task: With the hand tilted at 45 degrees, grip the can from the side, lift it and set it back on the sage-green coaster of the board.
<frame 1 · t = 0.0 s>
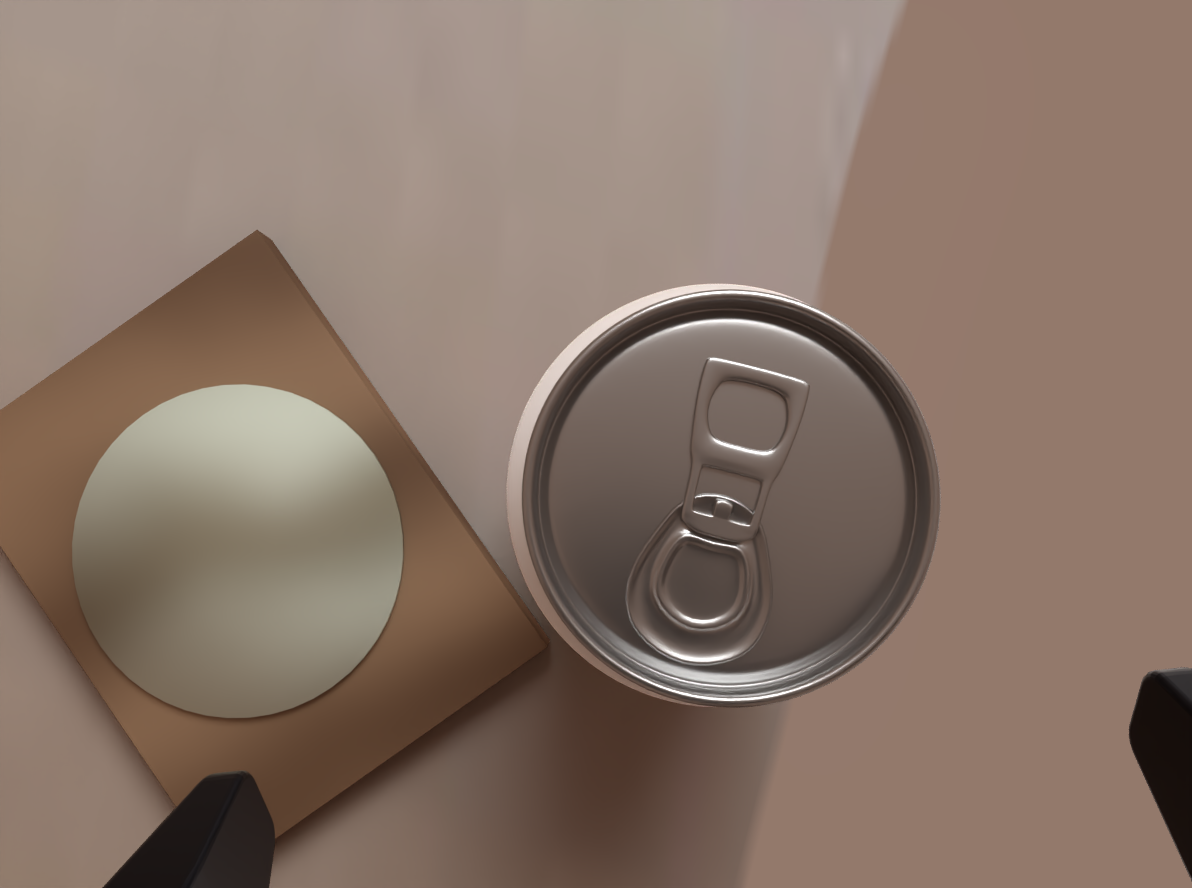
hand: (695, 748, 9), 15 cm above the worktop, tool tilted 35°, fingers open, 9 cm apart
can: (671, 483, 24), on the worktop
coaster board: (255, 546, 24), on the worktop
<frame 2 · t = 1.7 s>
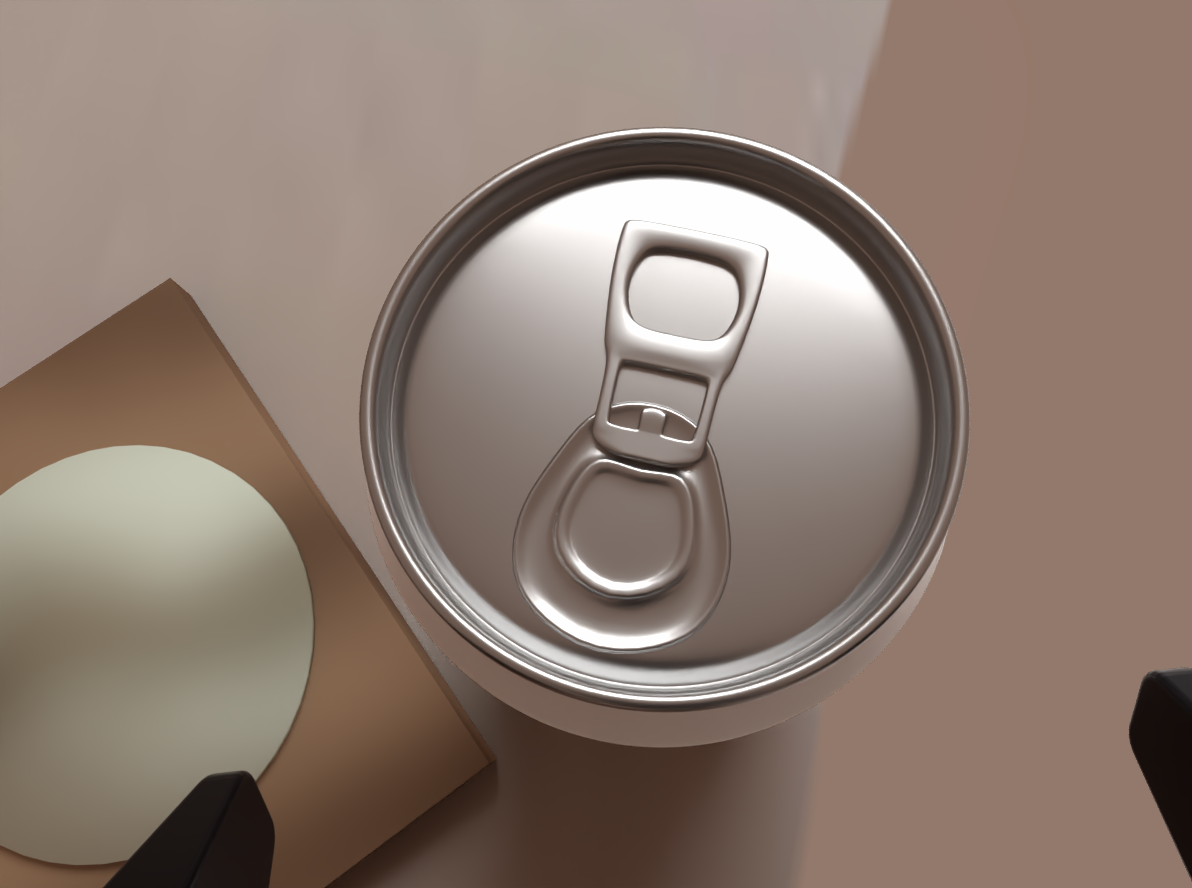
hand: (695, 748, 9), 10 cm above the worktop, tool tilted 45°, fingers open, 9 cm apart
can: (645, 559, 20), on the worktop
coaster board: (140, 645, 20), on the worktop
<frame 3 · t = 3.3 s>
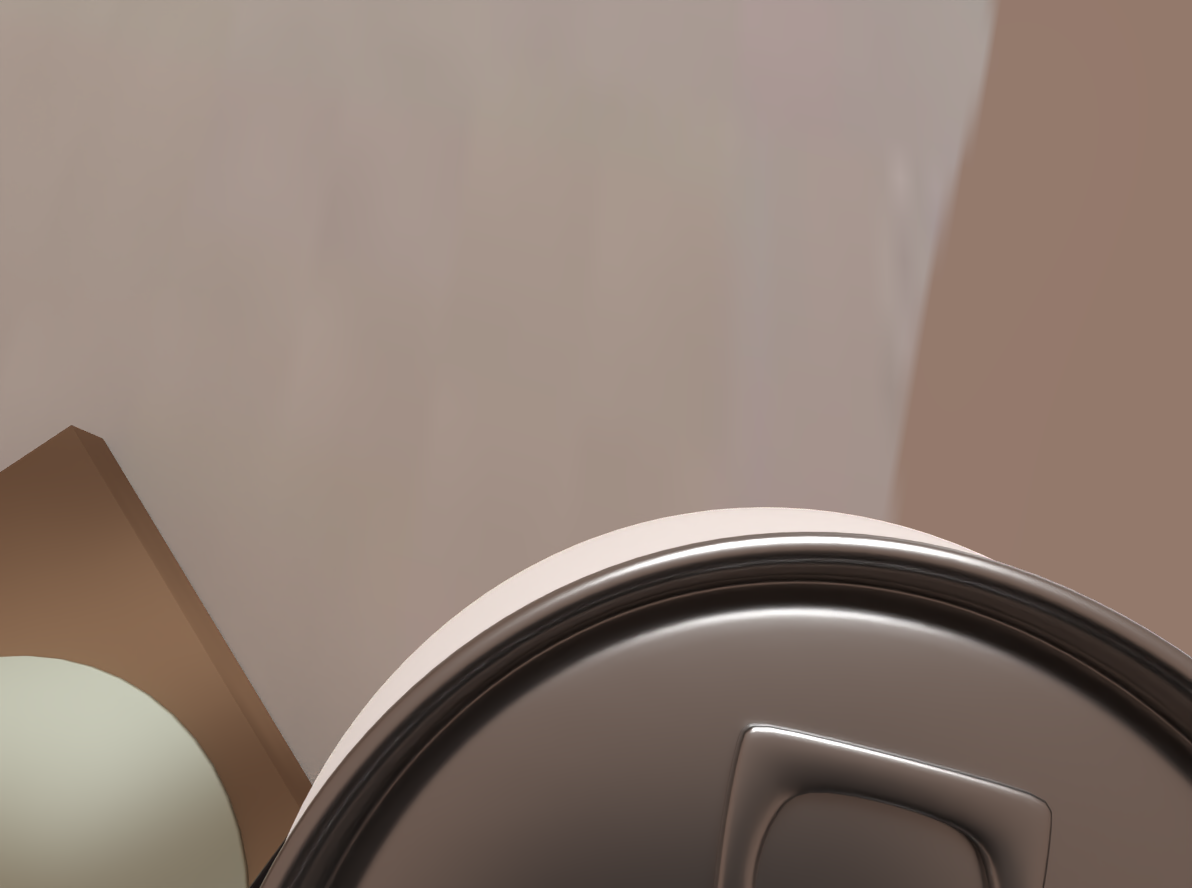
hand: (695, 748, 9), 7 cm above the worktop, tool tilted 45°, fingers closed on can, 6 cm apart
can: (685, 801, 16), on the worktop, touching gripper
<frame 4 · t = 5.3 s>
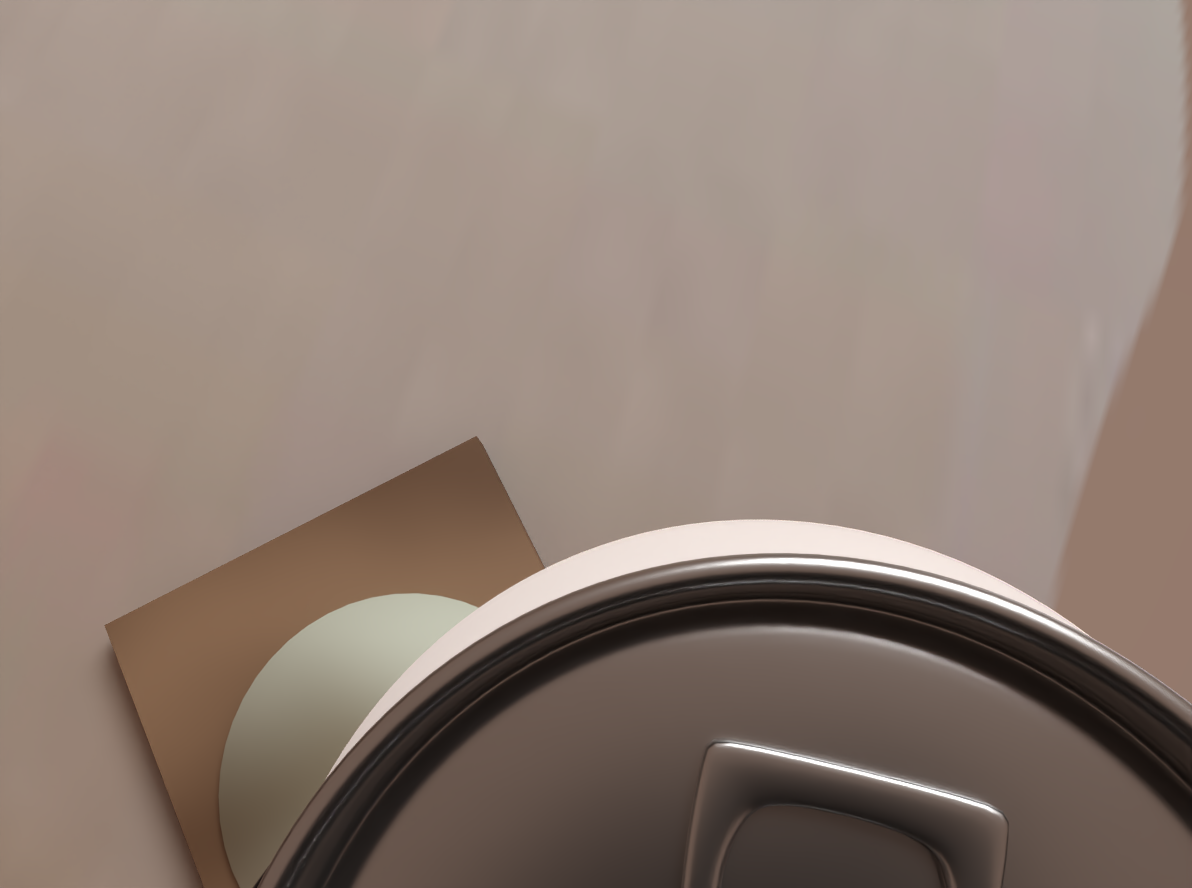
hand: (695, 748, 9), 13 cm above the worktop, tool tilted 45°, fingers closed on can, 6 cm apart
can: (716, 791, 16), point 6 cm above the worktop, touching gripper
coaster board: (413, 773, 22), on the worktop
when the fingers open (9 cm above the worktop, at t = 7.3 s): can stays where it is, resting on coaster board.
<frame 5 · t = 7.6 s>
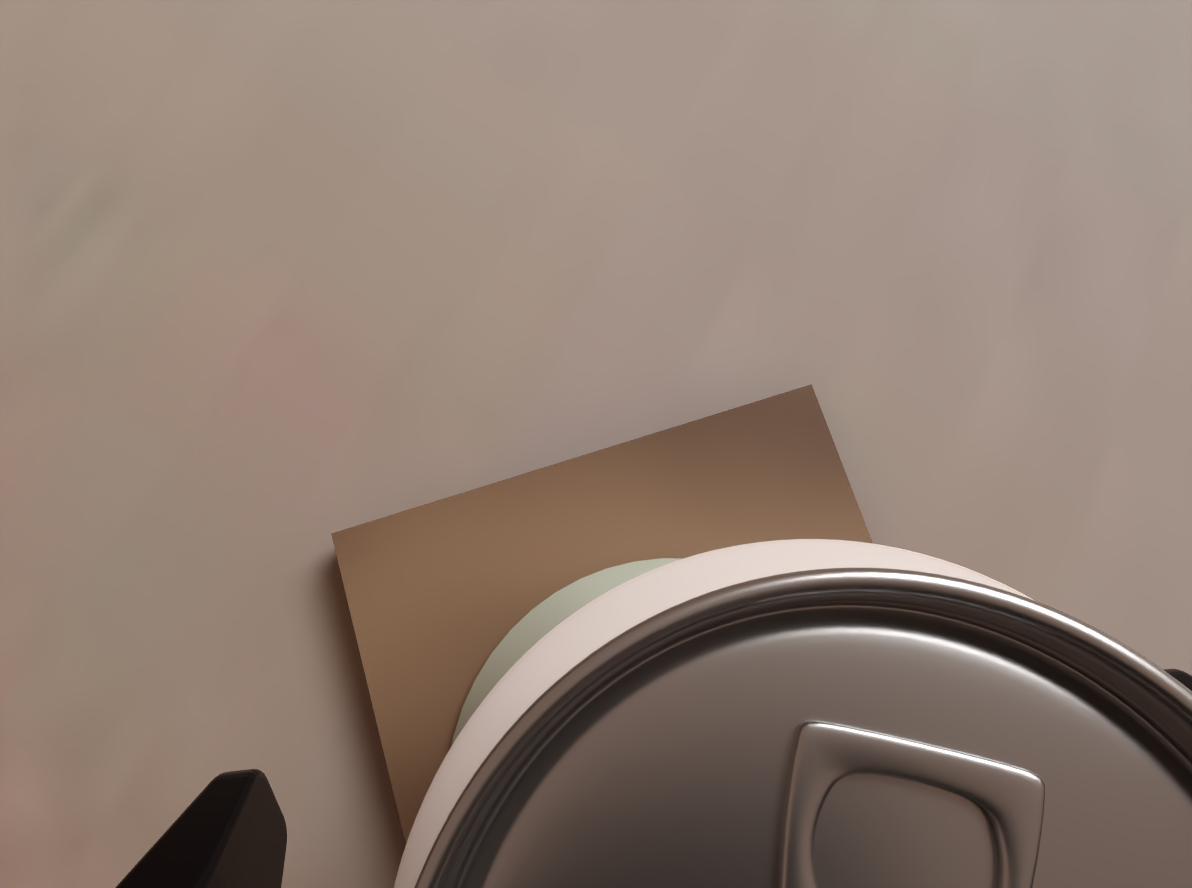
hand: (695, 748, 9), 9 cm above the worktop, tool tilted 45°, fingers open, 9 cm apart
can: (710, 792, 17), point 1 cm above the worktop, touching coaster board
coaster board: (674, 783, 18), on the worktop
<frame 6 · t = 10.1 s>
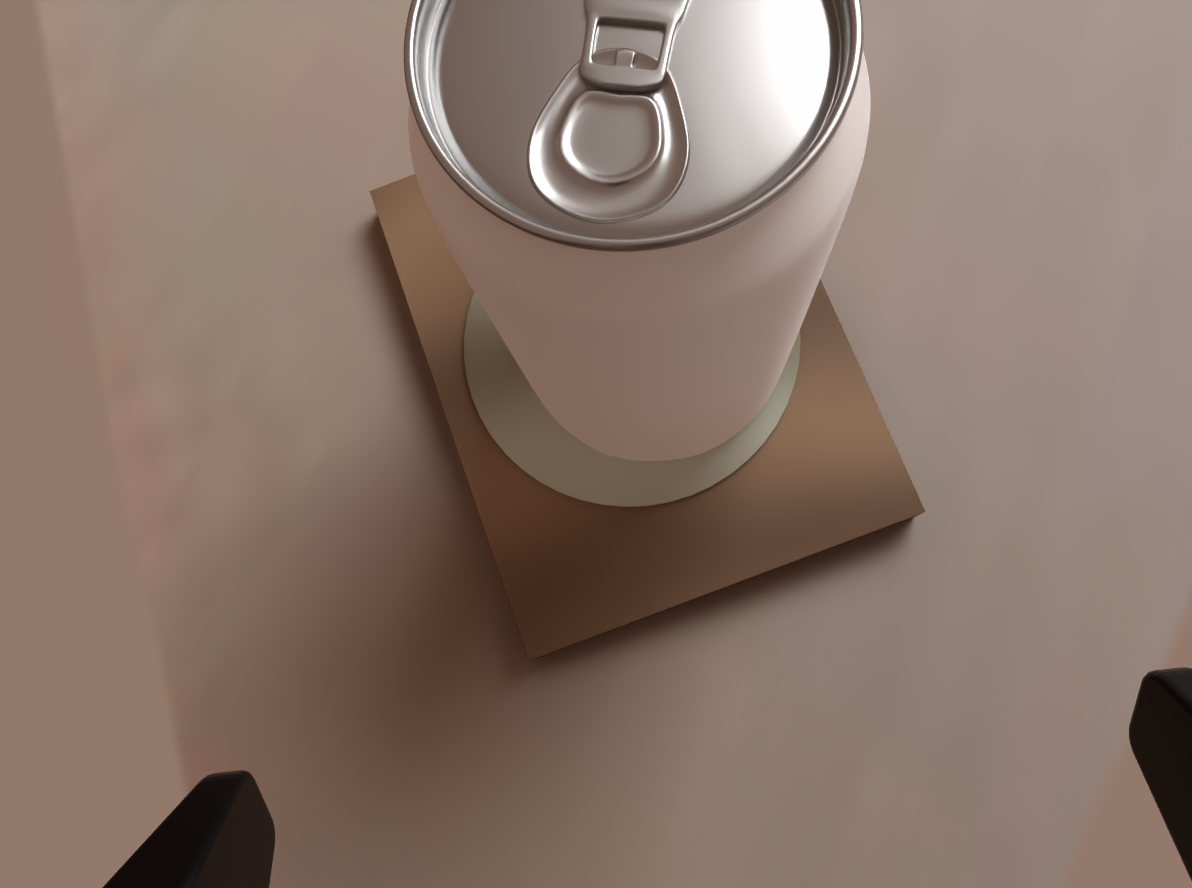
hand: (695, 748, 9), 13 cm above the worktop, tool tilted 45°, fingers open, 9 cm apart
can: (654, 341, 23), point 1 cm above the worktop, touching coaster board
coaster board: (631, 353, 24), on the worktop
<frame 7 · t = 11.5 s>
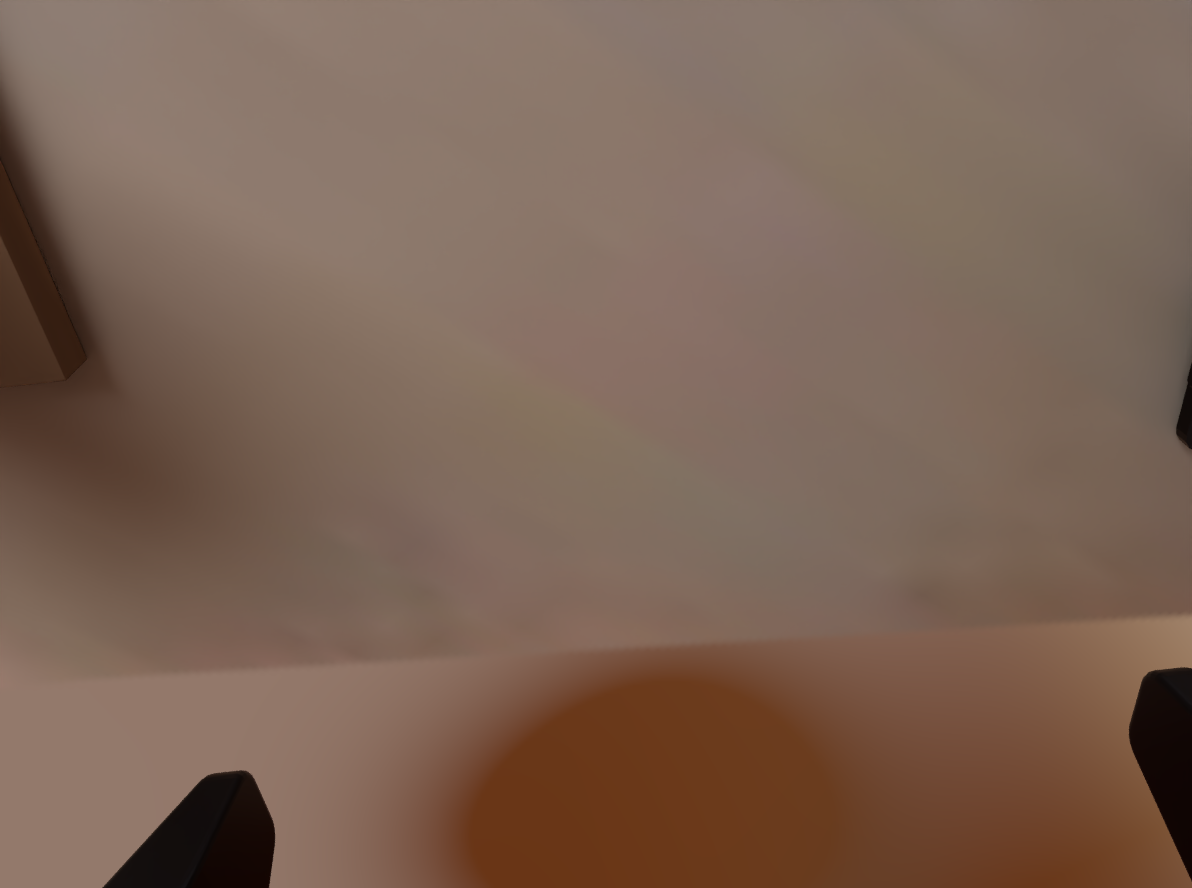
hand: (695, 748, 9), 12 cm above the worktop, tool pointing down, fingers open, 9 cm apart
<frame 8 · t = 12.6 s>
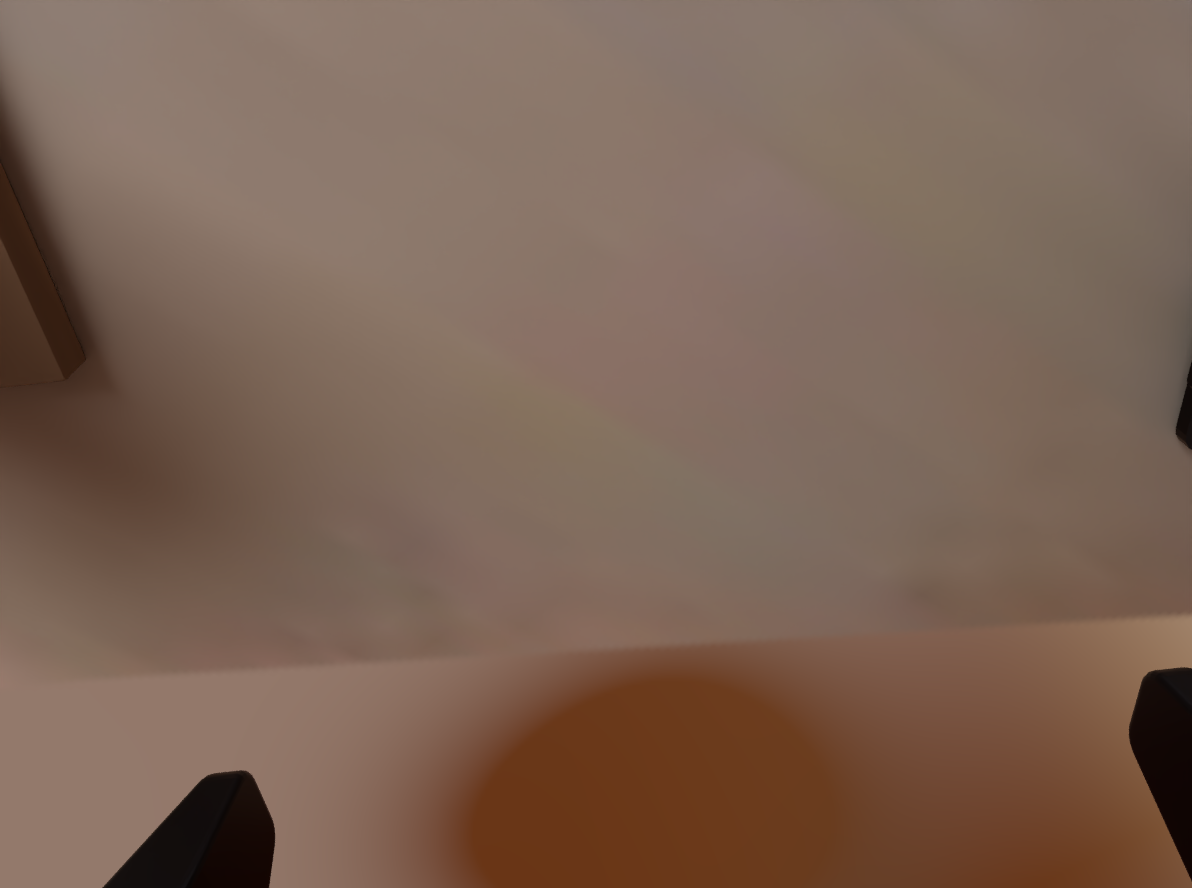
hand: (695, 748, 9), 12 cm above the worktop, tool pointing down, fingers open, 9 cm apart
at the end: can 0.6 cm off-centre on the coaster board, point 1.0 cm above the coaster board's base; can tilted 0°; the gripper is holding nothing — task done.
